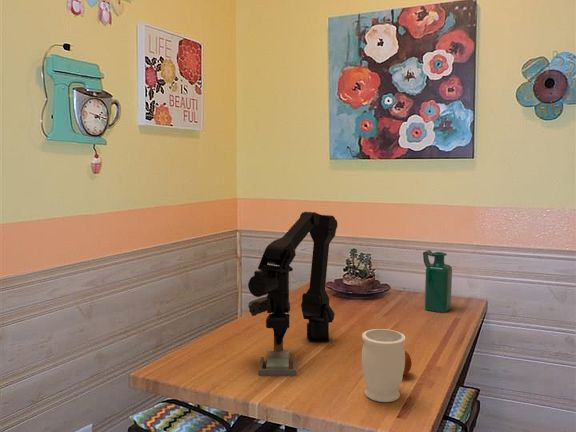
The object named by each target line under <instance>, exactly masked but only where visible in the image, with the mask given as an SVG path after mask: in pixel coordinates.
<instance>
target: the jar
mask: <svg viewBox="0 0 576 432" xmlns="http://www.w3.org/2000/svg"><path fill="white" fill-rule="evenodd" d="M361 338H362V340H363V344H362V349H361V368H362V369H361V370H362V376H363V381H364V384H365V386H366V389H365V391H364V394H365V396H366V397H367V398H368V399H370V400H371V401H372V400H373V401H375V402H380V403H390V402H395V401H397V400H398V399H400V395H401V394H400V391H399V389H400V387H401V385H402V382H403V377H404V375H403V372H404V367H405V351H406V350H405V347H404V344H405V342H406V336H405V334H404V333H402V332H400V331H397V330H393V329H387V328H375V329H369V330H366V331H364V332H362V334H361Z"/></svg>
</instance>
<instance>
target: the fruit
mask: <svg viewBox="0 0 576 432" xmlns="http://www.w3.org/2000/svg"><path fill="white" fill-rule="evenodd" d="M404 351H405V367H404V372H403V376H405V375H406V374H408V373H409V372H410V371H411V368H412V362H413V361H412V358H411V356H410V354H409V352H407V351H406V350H404Z"/></svg>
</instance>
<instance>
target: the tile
mask: <svg viewBox="0 0 576 432" xmlns="http://www.w3.org/2000/svg"><path fill="white" fill-rule="evenodd" d="M289 367H290V363H289V358H267V357H266V367H265V369H290V368H289Z"/></svg>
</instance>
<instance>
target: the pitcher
mask: <svg viewBox="0 0 576 432" xmlns="http://www.w3.org/2000/svg"><path fill="white" fill-rule="evenodd" d="M447 255H448V254H447V253H446V252H442V251H434V252H433V251H432V250H431V249H427V250H425V251H424V252H422V258H423V263H424V266H425V267H426V268H425V281H424V283H425V284H424V286H425V287H424V309H425V310H426V311H429V312H434V313H441V314H442V313H447V312H448V311H449V310H451V307H452V285H453V283H452V282H453V268H452V266H451V265H449V264H446V263H445V256H447ZM429 257H432V258H433V257H434V261H433V263H431V261H430V259H429Z"/></svg>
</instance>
